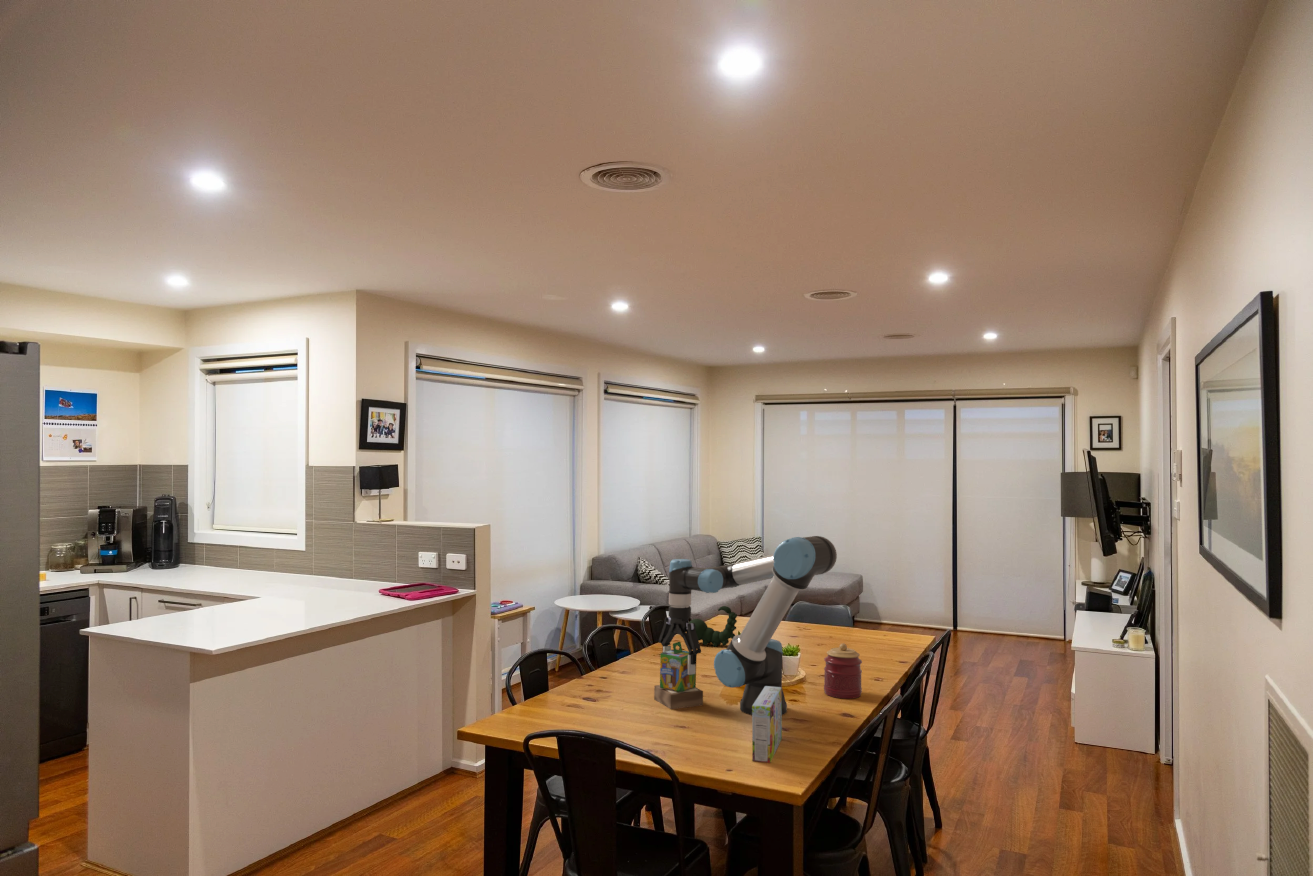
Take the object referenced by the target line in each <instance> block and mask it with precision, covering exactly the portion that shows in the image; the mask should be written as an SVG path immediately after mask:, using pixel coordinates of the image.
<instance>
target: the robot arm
mask: <svg viewBox="0 0 1313 876" xmlns="http://www.w3.org/2000/svg"><path fill="white" fill-rule="evenodd" d="M837 554H838V552H837V549H836V547H835V545H834V544H833V542H832V541H831V540H829V539H828V538H826V537H824V536H821V535H813V536H803V537H800V536H795V537H791V538H789V539H785V540H783V541H782V542H781V543H779V544H778V545H777V546H776V547H775V550H774V552H773V553H772V554H768V555H764V556H760V557H756V558H751V559H747V560H743V561H738V562H736V563H735V562H733V563H731V564H726V565H721V566H712V567H697V566H695V567H694V566H693V562H692V560H691V559H687V558H673V559H671V561H670V562H669V568H668V569H669V571H668V573H669V574H668V580H669V583H668V586H669V587H668V605H669V606H668V616H667V617H664V620H663V621H664V622H663V623H664V624H663V626H662V629H661V633H660V635H659V638H658V643H659V644H661V646H662V653H663V652H666V651H670V650H672V646H671V645H672V644H671V642H672V641H673V639H674V638H675V636H676V634H677V635H679V636H680V637H681V638H682V639H683V641H684V643H685V645H686V648H687V651H688V652H689V654H688V675H691V674H695V669H696V670H697V658H696V655H698V654H701V653H702V649H701V645H700V640H699V641H698V637H697V634H696V630H695V623H689V622H690V621H689V620H690V618H691V617H692V607H691V605H692V591H697V592H703V593H706V594H710V593H712V594H716V593H718V592H719V591H720V590H722V589H723V590H724V589H731V588H732V589H733V588H737V587H739V586H742V585H747V584H752V583H757V582H762V581H766V580H771V581H770V582H769V584H768V585H767V587H766V589H765V591H764V592H763V594H762V596H761V598H760V600H759V601H758V602H757V605H756V607H755V609H754V610H753V612H752V614H751V615H750V617H749V619H748V620H747V622H746V624H745V626H744V628H743V629H742V631H741V633H740V634H735V636H734V637H733V639H731V641H729V643H728V646H727V647H726V649H721V650H720V651H718V652H717V653H716V655H715V657H714V658H713V659H714V660H713V668H714V670H715V671H714V672H715V673H714V674H715V675H716V677H717V679H718V680H719V682H720V683H722V685H724V686H726V687H727V688H740V687H743V686H745V687H744V690H743V693H742V697H741V699H740V701H739V709H740V711H741V712H743V713H745V714H747V715H751V716H752V705H753V704H754V702H755V701H756V699H757V698H758V696H759V695H760V693H761V692H762V690H763V689H764V687H765V686H772V687H781V690H782V715H786V714H787V712H788V704H787V701H786V698H785V693H784V689H783V684H782V683H783V682H782V681H783V654H784V652H783V644H782V642H781V641H779V640H777V639H773V638H772V637H773V636H774V634H775V632H776V631H777V629H778V628H779V626H780V624H781V622H782V621H783V619H784V617H785V615H786V613H788V610H789V609H790V607H791V605H792V604H793V602H794V600H795V598H796V597H797V595H798V594H799V591H805V590H807V588H808V586H809V585H810V583H811V581H812V580H813V579H814V577H815V576H819V575H824V574H826V573H828V572H829V571H831V570H832V569H833V567H834V566H835V565H836V563H837V562H836V561H837V558H838V555H837Z"/></svg>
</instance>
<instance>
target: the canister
mask: <svg viewBox="0 0 1313 876" xmlns="http://www.w3.org/2000/svg"><path fill="white" fill-rule="evenodd" d="M826 654H827V656H825V658H823V659H824V662H825V665H824V668H823V669H824V682H823V683H824V684H823V691H824V694H825V695H826V696H828V697H830V698H831V697H832V698H837V699H846V700H847V699H851V700H852V699H857V698H860V697H861V695H862V673H863V670H862V668H861V665H862V663H863V661H862V659H860V658H859V657H860V653H859V652H857V651H856V650H855V649H853V648H850V647H848V646H847V644H845V642H843V643H840V644H839V647H832V648H831V649H829V650H827V651H826Z"/></svg>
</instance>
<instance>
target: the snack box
mask: <svg viewBox="0 0 1313 876" xmlns="http://www.w3.org/2000/svg"><path fill="white" fill-rule="evenodd" d="M782 690H783V689H782ZM782 690H781V687H772V686H765V687H764V689H763V690H762V692H761V693H760V695H759V696H758V698H757V699H756V701H755V702H754V704H753V705H752V715H751V716H752V719H751V723H752V724H751V725H752V729H751V730H752V732H751V733H752V736H751V737H752V739H751V740H752V742H751V743H752V745H751V747H752V756H751V757H752V759H751V761H752V762H758V763H766V764H767V763H768V764H770V763H771V762H772V760H773V758H774V756H775V754H776V751H778V748H779V746H780V743H781V742H782V739H783V717H782Z"/></svg>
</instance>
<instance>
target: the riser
mask: <svg viewBox="0 0 1313 876" xmlns="http://www.w3.org/2000/svg"><path fill="white" fill-rule="evenodd" d="M653 698H654V701H656V702H658V703H659V704H660V705H662V706H664V707H666V708H668V709H669V710H676V709H677V710H678V709H683V708H690V707H699V706H704V705H703V704H704V690H702V689H701V688H698V687H695V688H692V689H689V690H686V691H683V692H679V691H674V690H669V689H664V688H660V684H657V685H654V690H653Z"/></svg>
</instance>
